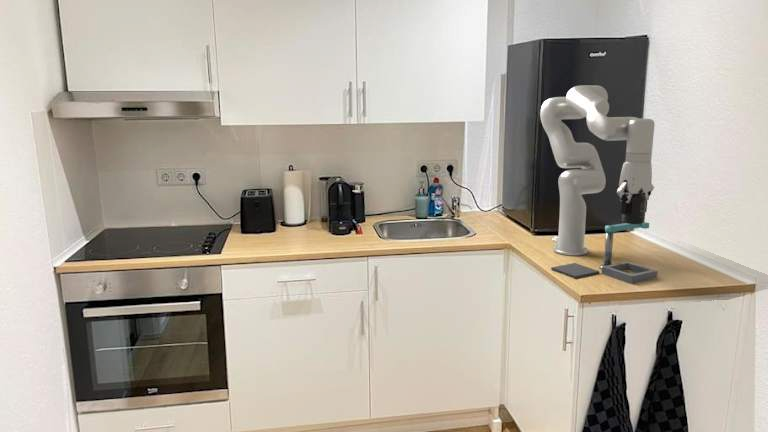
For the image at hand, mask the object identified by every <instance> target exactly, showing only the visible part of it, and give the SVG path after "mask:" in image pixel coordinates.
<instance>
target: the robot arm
mask: <svg viewBox="0 0 768 432" xmlns="http://www.w3.org/2000/svg"><path fill="white" fill-rule="evenodd" d="M608 99H609V95H608V92H607V90H606V89H605V88H604V87H603V86H601V85H590V84H589V85H588V84H587V85H586V84H585V85H582V84H581V85H575V86H573V87H572V88H570V89H569V90H568V91H567V93H566V96H555V97H550V98H548V99H546V100H545V101H543V103H542V105H541V108H540V112H539V115H540V117H539V118H540V122H541V124H542V127H543V129H544V131H545V133H546V134H547V137H548V139H549V144H550V147H551V150H552V154H553V156H554V160H555V162H556V165H557V166H558V167H559V168H562V169H567V170H564V171H563V172H561V174H560V175H559V177H558V179H557V180H558V182H557V183H558V190H559V218H558V219H559V220H558V236H557V235H556V236H554V238H552V239H551V241H552V242H553V243H555V245H554V246H553V247H552V248H553V251H554V252H555V253H557V254H560V255H564V256H575V257H576V256H584V255H588V253H589V249H588V248H587V247H586V246H585V239H586V238H585V235H586V222H587V220H586V219H587V205H586V201H585V199H584V197H583V195H587V194H588V195H589V194H590V195H591V194H598V193H601V192H602V191H603V190H604V189H605V188H606V183H607V182H606V181H607V179H606V175H605V171H604V168H603V166H602V161H601V159H600V156H599V152H598V151H597V149H596V147H595V146H594V144H591V143H589V142H576V141H575V139H574V137H573V134H572V131H571V129H570V128H569V127H568V126H567V124H565V123H564V122H563V121H562V120H580V119H581V120H582V119H584V118H586V125H587V128H588V131H590V132H591V133H592V134H593V135H594V136H596V137H598V138H599V139H600V140H603V141H607V142H608V141H609V142H610V141H626V148H625V159H624V162H623V164H622V166H621V167H622V168H621V171H620V176H619V183H618V188H617V190H616V194H617V196H618V198H619V201H620V203H621V206H620V214H621V215H622V214H625V215H630V211H631V203H629V202H630V200H631V198H632V195H633V194H638V191H640V189H641V188H643V191H644V192H642V193H643V194H644V195H645V196H646V210H645V213H647V209H648V201H649V199H650V196H651V195H652V192H653V191H654V189H655V186H654V185H653V184H652V179H653V177H652V175H653V173H652V172H653V171H652V155H653V146H654V134H655V126H656V125H655V121H654V120H653V119H651V118H640V117H639V118H638V117H637V116H636V117H635V116H613V117H611V116H607V115H608V113H609V111H610V104H609V102H608ZM628 191H629V193H628ZM626 195H628V197H626Z"/></svg>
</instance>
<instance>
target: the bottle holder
mask: <svg viewBox="0 0 768 432" xmlns="http://www.w3.org/2000/svg"><path fill="white" fill-rule="evenodd" d="M625 271H628V272H625ZM629 272H632V273H629ZM601 275H605V276H607V277H611V278H613V279H616V280H619V281H621V282H625V283H627V284H630V285H633V284H636V283H642V282H645V281H650V280H654V279H657V278H658V270H656V269H653V268H651V267H646V266H643V265H641V264H636V263H635V262H634V263H633V262H630V261H628V260H627V261H622V262H618V263H613V264H612V263H611V265H607V266H602V270H601Z"/></svg>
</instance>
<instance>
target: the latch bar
mask: <svg viewBox="0 0 768 432" xmlns="http://www.w3.org/2000/svg"><path fill="white" fill-rule="evenodd" d="M639 228H641V229H644V230H646V229H649V228H650V222H647V221H644V223H642V224H628V223H624V222H622V223H618V224H611V225H610V224H608V225H605V226H604V232H605V233H606V232H609V233H613V234H614V233H616V232H621V231H627V230H633V229H639Z"/></svg>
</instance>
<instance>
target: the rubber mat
mask: <svg viewBox="0 0 768 432" xmlns="http://www.w3.org/2000/svg"><path fill="white" fill-rule="evenodd" d="M550 269H551V271H554V272H557V273H558V274H561V275H565V276H566V277H570V278H573V279H580V278H585V277H588V276H589V277H590V276H593V275H599V274H600V270H596V269H594V268H590V267H588V266H585V265H583V264H580V263H577V262H573V263H572V262H571V263H567V264H562V265H558V266H552V267H551V268H550Z"/></svg>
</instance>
